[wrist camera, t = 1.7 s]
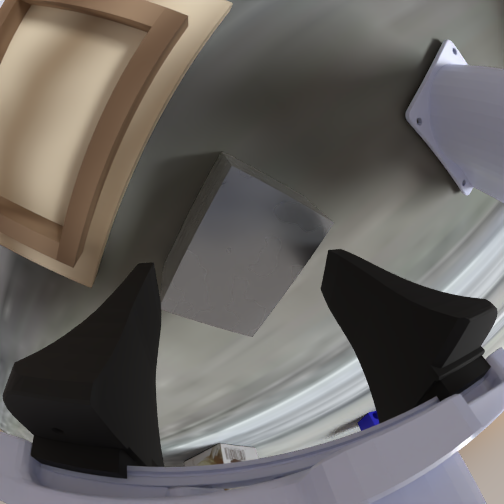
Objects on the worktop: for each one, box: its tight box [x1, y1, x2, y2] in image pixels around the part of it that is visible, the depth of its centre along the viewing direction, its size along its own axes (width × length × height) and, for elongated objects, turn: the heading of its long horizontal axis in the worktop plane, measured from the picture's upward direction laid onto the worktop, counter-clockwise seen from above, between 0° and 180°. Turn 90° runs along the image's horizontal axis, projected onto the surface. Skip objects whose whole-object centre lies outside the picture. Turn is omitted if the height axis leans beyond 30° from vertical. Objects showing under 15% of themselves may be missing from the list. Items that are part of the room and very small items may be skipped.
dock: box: [0, 0, 233, 288], centre depth 8 cm, size 12×16×3 cm
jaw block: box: [160, 151, 334, 337], centre depth 14 cm, size 5×7×4 cm
